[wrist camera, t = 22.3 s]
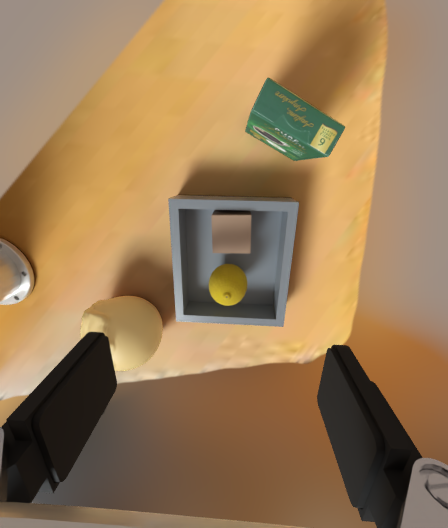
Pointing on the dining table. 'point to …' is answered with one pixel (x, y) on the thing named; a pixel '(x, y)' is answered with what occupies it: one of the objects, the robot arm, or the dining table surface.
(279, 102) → the coffee box
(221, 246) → the walnut cube
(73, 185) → the dining table surface
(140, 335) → the sculpture
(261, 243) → the tote
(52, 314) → the dining table surface
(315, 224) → the dining table surface
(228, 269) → the lemon
